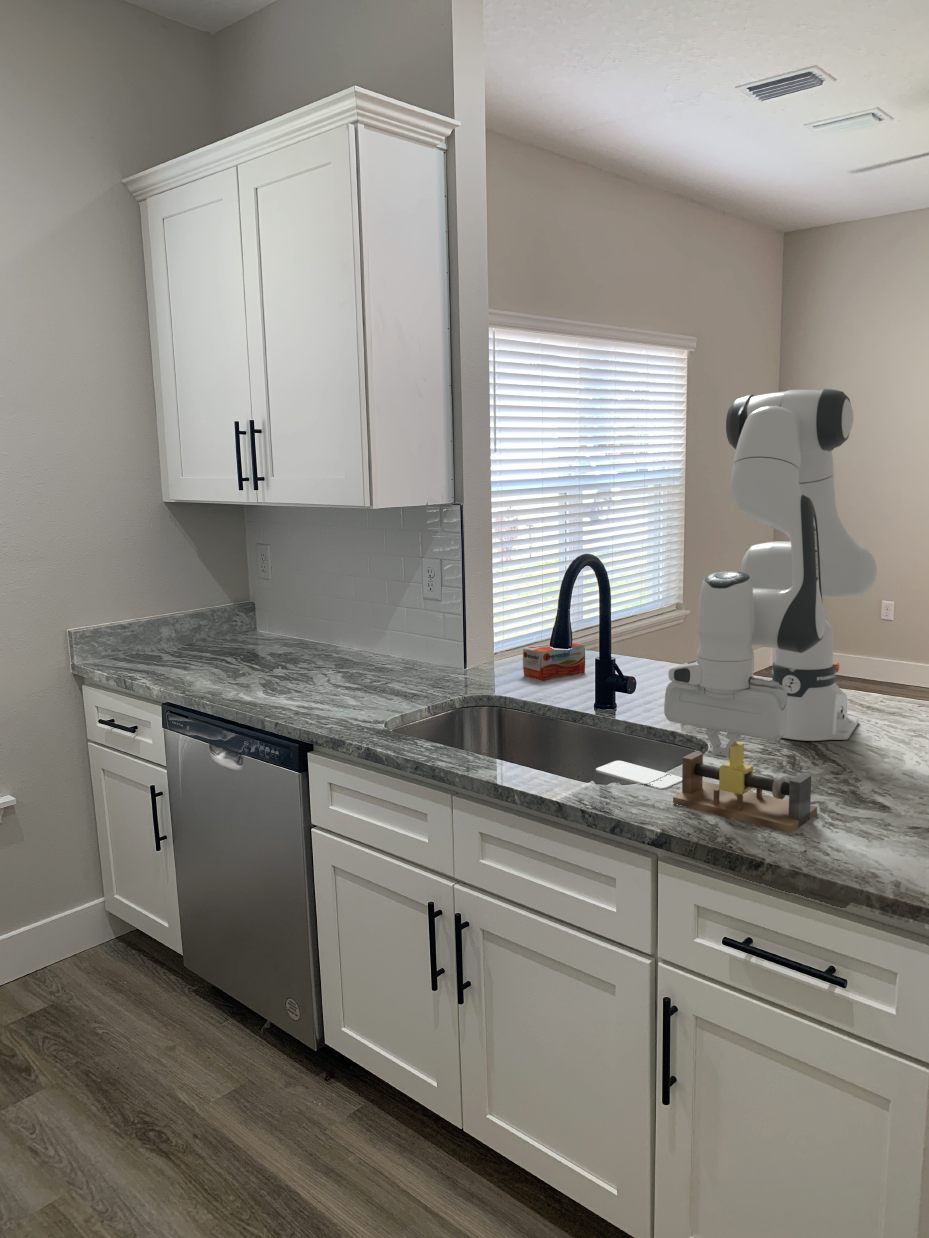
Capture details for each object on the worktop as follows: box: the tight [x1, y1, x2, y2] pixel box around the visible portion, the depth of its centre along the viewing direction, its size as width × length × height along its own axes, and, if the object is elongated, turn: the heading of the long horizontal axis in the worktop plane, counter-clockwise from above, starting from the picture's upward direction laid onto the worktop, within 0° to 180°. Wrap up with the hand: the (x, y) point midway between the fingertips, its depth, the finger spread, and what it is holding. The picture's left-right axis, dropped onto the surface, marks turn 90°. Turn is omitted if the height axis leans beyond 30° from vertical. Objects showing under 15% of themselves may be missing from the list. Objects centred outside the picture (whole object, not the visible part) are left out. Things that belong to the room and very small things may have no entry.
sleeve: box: [718, 741, 754, 795], centre depth 152 cm, size 4×4×7 cm
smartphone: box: [595, 760, 682, 790], centre depth 170 cm, size 7×1×15 cm
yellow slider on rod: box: [672, 751, 818, 834], centre depth 152 cm, size 20×10×7 cm, turn 48°
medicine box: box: [522, 642, 586, 682], centre depth 250 cm, size 15×8×8 cm, turn 124°
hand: (723, 756), depth 153 cm, fingers closed
